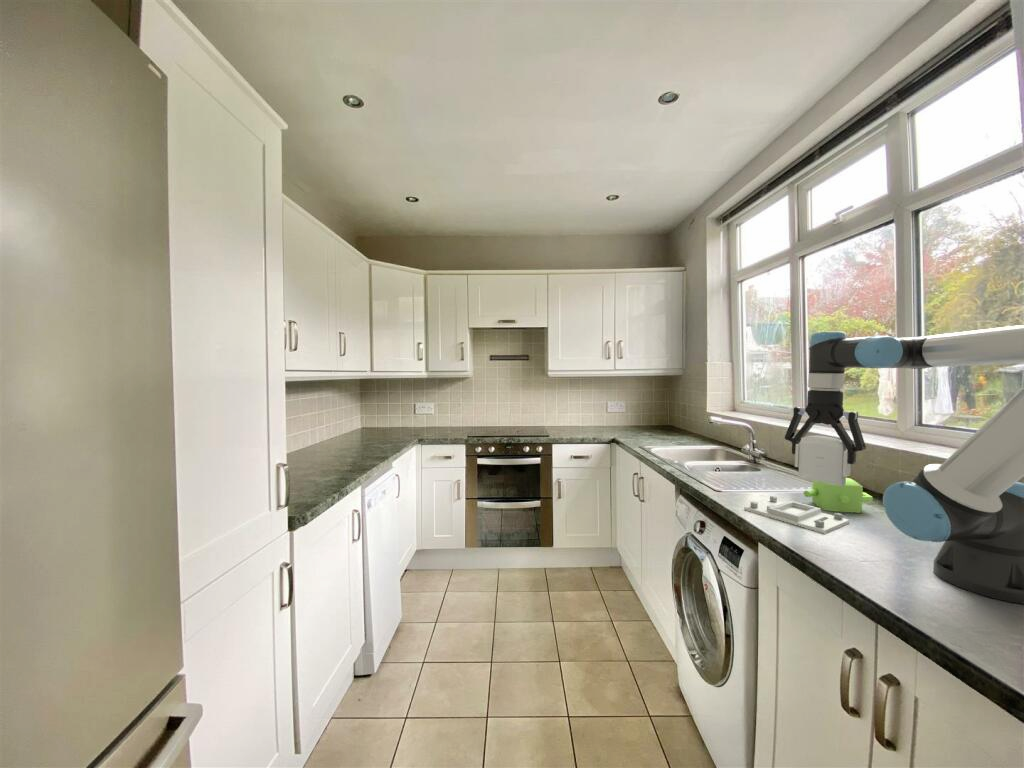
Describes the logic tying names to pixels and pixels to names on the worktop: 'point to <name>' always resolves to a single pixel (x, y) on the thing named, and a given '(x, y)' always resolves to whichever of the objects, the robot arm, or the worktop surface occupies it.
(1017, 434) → the robot arm
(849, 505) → the gearbox
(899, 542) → the worktop surface
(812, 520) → the plate
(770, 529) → the worktop surface
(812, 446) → the photo printer
